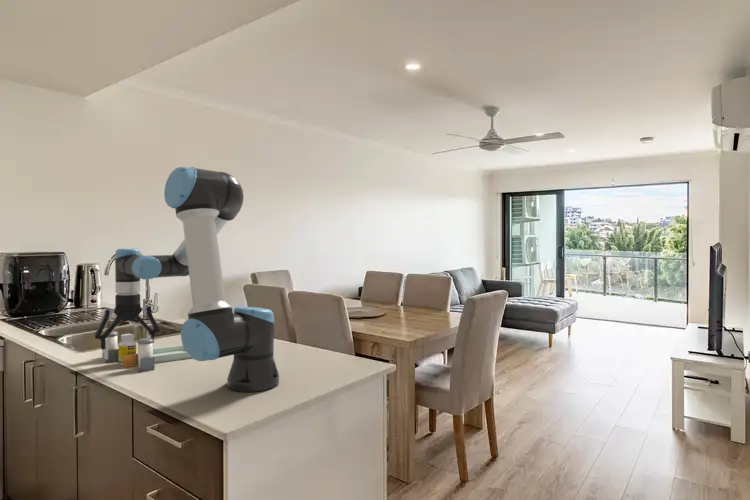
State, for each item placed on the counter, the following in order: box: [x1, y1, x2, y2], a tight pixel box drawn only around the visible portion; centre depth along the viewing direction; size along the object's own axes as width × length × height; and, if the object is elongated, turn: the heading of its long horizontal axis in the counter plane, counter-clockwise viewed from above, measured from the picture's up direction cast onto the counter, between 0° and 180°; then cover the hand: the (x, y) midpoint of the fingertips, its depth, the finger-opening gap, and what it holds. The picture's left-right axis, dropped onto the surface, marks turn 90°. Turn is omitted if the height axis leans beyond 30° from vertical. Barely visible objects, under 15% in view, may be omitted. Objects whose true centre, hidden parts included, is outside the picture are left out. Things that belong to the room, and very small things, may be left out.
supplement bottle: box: [117, 333, 137, 366], centre depth 156 cm, size 5×5×10 cm
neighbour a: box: [137, 337, 154, 370], centre depth 151 cm, size 5×5×9 cm
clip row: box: [101, 349, 156, 372], centre depth 156 cm, size 26×12×4 cm, turn 37°
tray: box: [153, 344, 192, 364], centre depth 166 cm, size 12×16×2 cm
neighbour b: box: [102, 330, 119, 362], centre depth 161 cm, size 5×5×9 cm
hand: (128, 355), depth 157 cm, fingers open, 12 cm apart
